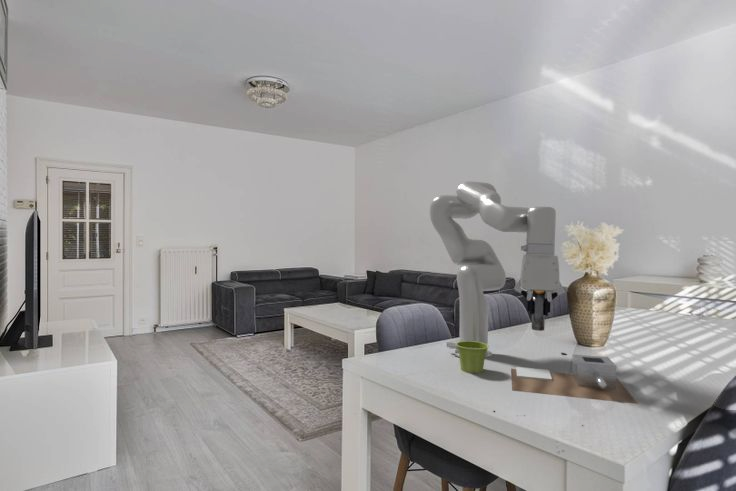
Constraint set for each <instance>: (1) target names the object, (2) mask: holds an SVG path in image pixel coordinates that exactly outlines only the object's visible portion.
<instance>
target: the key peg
mask: <svg viewBox="0 0 736 491" xmlns="http://www.w3.org/2000/svg"><path fill="white" fill-rule="evenodd" d="M531 298H532V301H533V314H532V315H531V330H532V331H537V332H538V331H539V332H540V331H545V324H546V323H545V321H546V320H545V318H546V316H545V299H546V291H536V290H533V291H532V297H531Z"/></svg>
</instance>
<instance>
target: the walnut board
mask: <svg viewBox="0 0 736 491" xmlns="http://www.w3.org/2000/svg"><path fill="white" fill-rule="evenodd" d="M549 372H550V375H551V377H552V381H549V380H538V379H528V378H517V372H516V368H510V373H511V374H510V376H511V390H512V391H514V392H523V393H531V394H539V395H540V394H543V395H550V396H551V395H552V396H553V395H554V396H560V397H569V398H571V397H572V398H580V399H588V400H596V401H597V400H598V401H609V402H617V403H627V404H635V405H636V404H637V405H638V404H639V402H638V401H637V400H636V399H635V398H634V396H632V394H631V393H630V392H629V391H628V390H627V388H626V387H625V386H624V385H623V384H622V382H621V381H620V380H619V379H618V378H617V377H616V389H608V388H605V389H602V388H598V387H588V386H578V385H577V384H576V382H575V380H574V378H573V376H572V373H565V372H555V371H553V372H552V371H549Z"/></svg>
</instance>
